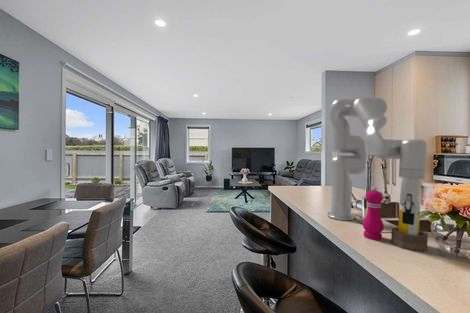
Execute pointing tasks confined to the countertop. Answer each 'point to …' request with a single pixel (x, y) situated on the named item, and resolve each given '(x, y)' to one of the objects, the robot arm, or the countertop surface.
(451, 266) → the countertop surface
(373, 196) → the pepper mill
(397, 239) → the socket
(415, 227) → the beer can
